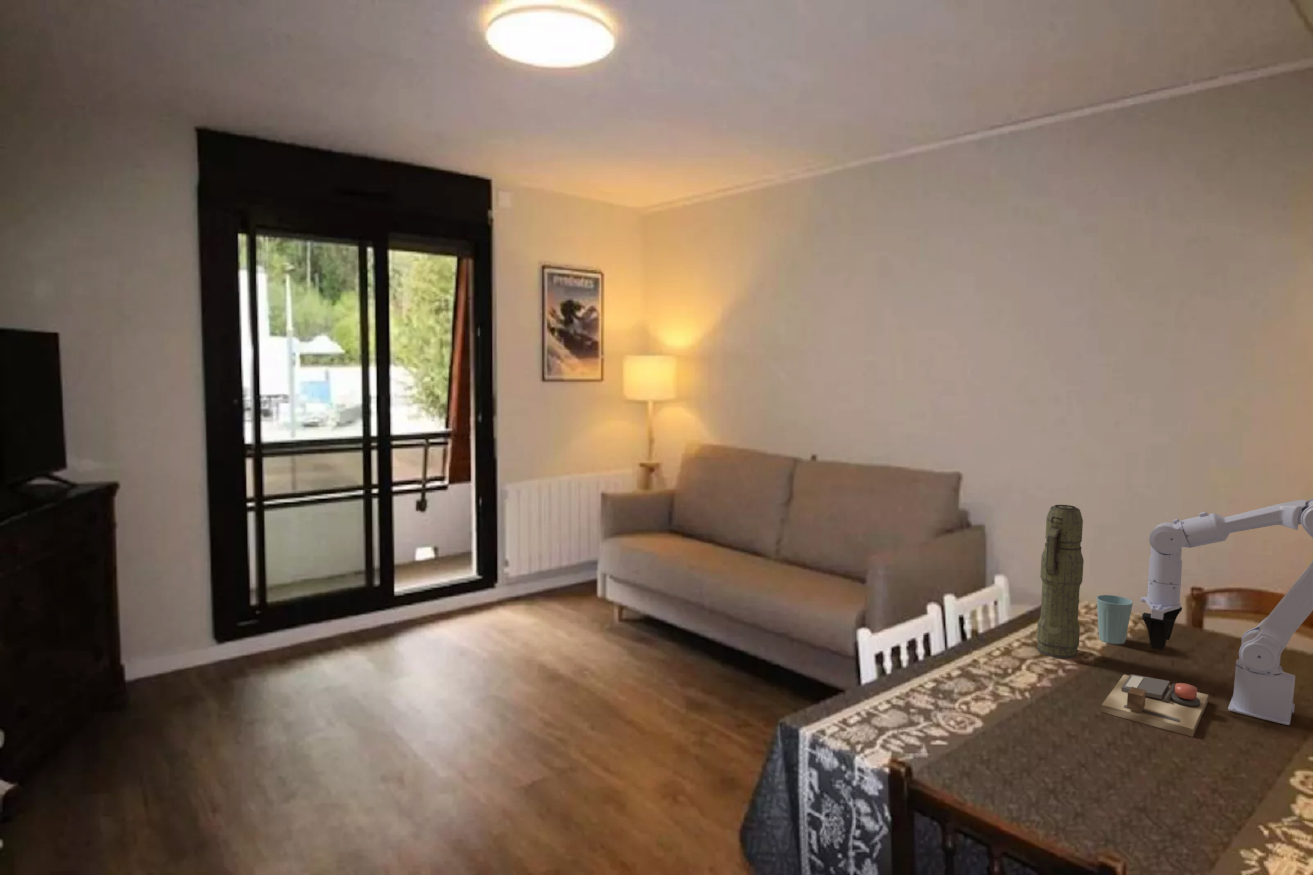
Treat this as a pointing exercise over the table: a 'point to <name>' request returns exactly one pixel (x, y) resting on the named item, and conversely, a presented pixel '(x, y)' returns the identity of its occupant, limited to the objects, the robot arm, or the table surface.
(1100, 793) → the table surface
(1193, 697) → the push button
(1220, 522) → the robot arm
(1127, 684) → the paddle switch
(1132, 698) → the slider knob
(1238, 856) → the table surface
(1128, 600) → the cup
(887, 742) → the table surface
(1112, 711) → the control panel
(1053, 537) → the thermos
